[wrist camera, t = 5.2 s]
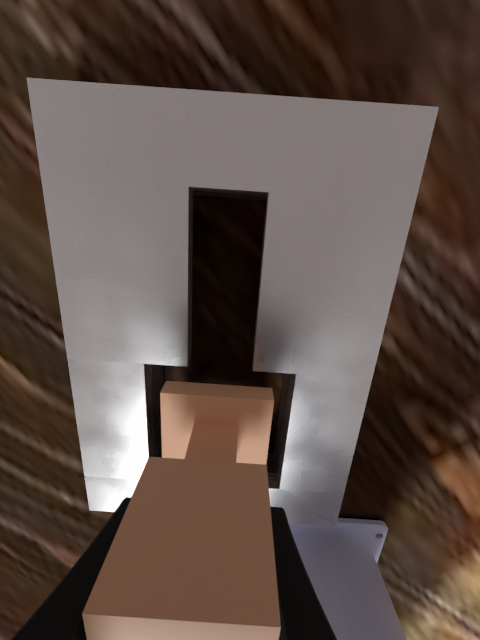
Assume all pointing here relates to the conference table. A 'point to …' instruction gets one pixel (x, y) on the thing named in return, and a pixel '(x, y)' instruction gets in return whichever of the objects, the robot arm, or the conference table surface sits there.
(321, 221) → the keyhole plate
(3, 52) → the conference table surface
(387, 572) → the conference table surface
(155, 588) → the headed stud
